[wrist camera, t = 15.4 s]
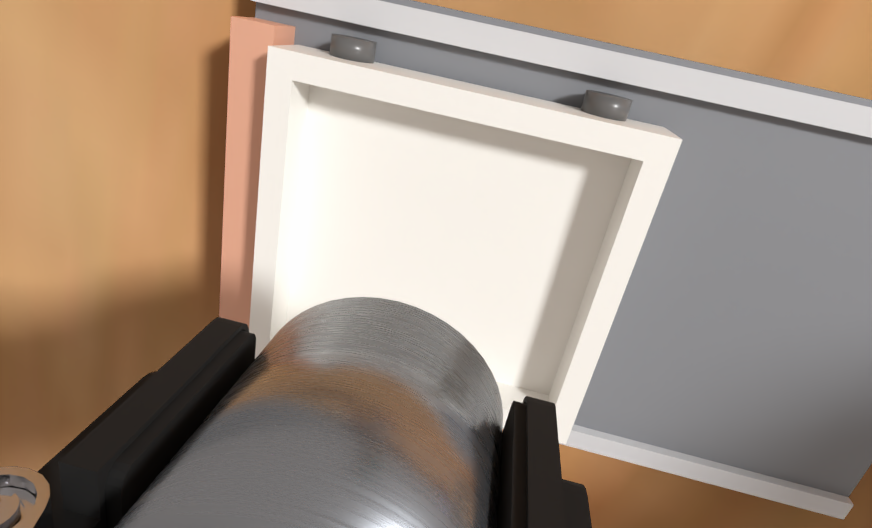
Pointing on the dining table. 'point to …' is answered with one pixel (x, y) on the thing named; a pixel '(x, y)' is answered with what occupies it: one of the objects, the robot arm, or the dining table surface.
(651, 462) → the rail board
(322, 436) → the part
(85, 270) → the dining table surface
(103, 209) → the dining table surface
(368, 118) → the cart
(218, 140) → the dining table surface
